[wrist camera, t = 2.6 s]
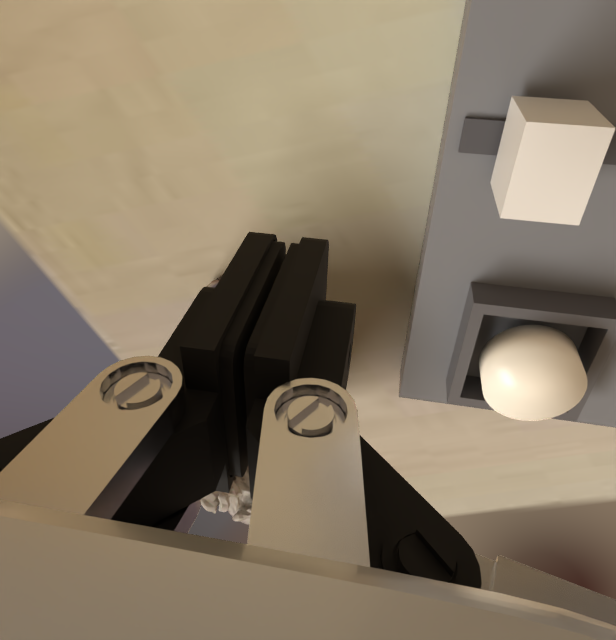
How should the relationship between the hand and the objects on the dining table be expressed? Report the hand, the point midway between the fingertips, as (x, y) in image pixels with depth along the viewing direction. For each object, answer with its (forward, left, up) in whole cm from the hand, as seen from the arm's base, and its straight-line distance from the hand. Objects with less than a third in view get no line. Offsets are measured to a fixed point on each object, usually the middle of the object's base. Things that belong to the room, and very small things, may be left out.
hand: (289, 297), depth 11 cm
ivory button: (+8, +9, -9) cm, 15 cm away
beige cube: (-1, +7, -10) cm, 12 cm away
